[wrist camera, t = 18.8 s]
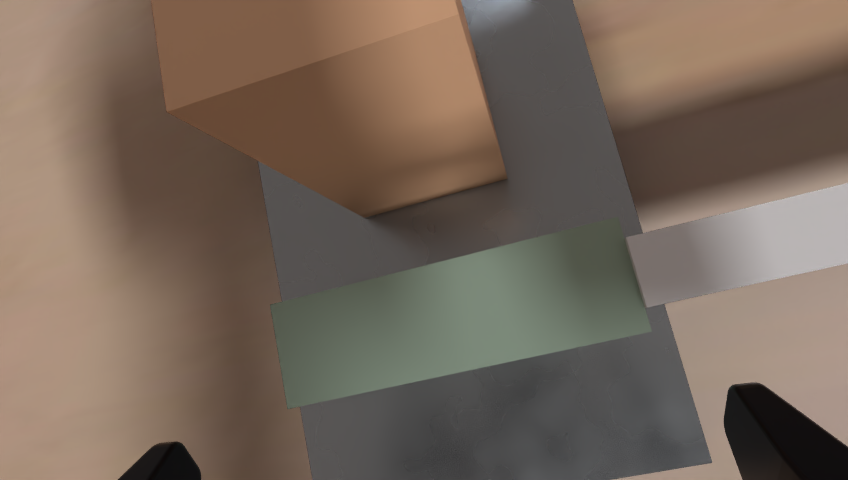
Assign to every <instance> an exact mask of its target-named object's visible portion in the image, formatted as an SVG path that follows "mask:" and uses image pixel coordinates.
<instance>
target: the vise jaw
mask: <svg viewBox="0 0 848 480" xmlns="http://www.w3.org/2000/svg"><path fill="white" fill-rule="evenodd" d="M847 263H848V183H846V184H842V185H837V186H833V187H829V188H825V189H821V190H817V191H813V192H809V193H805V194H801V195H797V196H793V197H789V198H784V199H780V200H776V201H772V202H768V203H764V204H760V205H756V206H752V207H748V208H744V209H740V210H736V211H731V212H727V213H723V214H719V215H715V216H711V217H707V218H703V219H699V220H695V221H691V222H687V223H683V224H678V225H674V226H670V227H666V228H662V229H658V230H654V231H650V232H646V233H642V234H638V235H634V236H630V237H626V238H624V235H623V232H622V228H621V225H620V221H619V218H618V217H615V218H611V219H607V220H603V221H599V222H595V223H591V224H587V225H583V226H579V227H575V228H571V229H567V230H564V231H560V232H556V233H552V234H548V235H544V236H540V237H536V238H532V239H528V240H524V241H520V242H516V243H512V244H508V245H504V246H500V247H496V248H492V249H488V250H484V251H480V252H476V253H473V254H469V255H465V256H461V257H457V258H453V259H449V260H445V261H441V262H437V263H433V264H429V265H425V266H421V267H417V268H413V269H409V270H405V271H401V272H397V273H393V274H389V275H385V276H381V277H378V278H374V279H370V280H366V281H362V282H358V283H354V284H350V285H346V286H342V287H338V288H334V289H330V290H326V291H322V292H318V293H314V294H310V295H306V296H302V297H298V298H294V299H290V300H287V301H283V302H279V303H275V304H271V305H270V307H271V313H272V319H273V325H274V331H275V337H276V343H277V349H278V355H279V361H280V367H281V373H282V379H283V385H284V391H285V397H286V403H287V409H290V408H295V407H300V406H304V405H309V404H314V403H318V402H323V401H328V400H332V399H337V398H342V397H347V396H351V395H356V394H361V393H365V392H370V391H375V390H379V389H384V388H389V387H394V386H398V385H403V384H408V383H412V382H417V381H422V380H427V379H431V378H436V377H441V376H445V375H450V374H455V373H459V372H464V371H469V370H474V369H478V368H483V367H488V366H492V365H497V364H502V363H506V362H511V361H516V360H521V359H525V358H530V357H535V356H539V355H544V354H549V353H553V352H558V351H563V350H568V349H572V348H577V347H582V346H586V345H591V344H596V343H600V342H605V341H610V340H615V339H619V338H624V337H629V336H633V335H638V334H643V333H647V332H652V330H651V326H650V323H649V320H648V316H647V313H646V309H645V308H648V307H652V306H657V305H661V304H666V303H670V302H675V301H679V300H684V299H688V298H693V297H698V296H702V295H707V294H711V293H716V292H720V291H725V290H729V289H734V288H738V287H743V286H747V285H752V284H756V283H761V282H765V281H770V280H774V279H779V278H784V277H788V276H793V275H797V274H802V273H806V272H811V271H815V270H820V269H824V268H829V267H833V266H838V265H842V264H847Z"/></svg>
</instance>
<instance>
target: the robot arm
mask: <svg viewBox="0 0 848 480" xmlns="http://www.w3.org/2000/svg"><path fill="white" fill-rule="evenodd" d="M724 428H725V432H726V436H727V439H728V441H729V444H730V447H731V449H732V452H733V455H734V458H735V460H736V463H737V466H738V468H739V471H740V474H741V477H742V479H743V480H848V447H847V446H846V445H845V444H843V443H842V442H841V441H839V440H838V439H837V438H835V437H834V436H832V435H831V434H830V433H828V432H827V431H826V430H824V429H823V428H822V427H820V426H819V425H818V424H816V423H815V422H813V421H812V420H811V419H809V418H808V417H807V416H805V415H804V414H803V413H801V412H800V411H798V410H797V409H796V408H794V407H793V406H792V405H790V404H789V403H788V402H786V401H785V400H783V399H782V398H781V397H779V396H778V395H777V394H775V393H774V392H773V391H771V390H770V389H768V388H767V387H766V386H764V385H762V384H760V383H744V384H735V385H732V386H731V387H730V388H729V390H728V395H727V401H726V408H725V415H724ZM118 480H201V473H200V469H199V467H198V466H197V464H196V463H195V461H194V460H193V458H192V457H191V455H190V454H189V452H188V451H187V449H186V448H185V446H184V445H183V444H182V443H180V442H166V443H159V444H156V445H154V446H153V447H152V448H150V449H149V450H148V451H147V452H146V453H145V454H144V455H143V456H142V457H141V458H140V459H139V460H138V461H137V462H136V463H135V464H134V465H133V466H132V467H131V468H129V469H128V470H127V471H126V472H125V473H124V474H123V475H122V476H121V477H120V478H119V479H118Z"/></svg>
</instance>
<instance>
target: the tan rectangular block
mask: <svg viewBox="0 0 848 480" xmlns="http://www.w3.org/2000/svg"><path fill="white" fill-rule="evenodd" d="M151 4H152V11H153V18H154V26H155V33H156V40H157V47H158V54H159V62H160V69H161V76H162V83H163V91H164V98H165V105H166V112H168V113H170V114H171V115H173V116H175V117H177V118H179V119H181V120H183V121H184V122H186V123H188V124H190V125H192V126H194V127H196V128H198V129H199V130H201V131H203V132H205V133H207V134H209V135H211V136H212V137H214V138H216V139H218V140H220V141H222V142H224V143H226V144H227V145H229V146H231V147H233V148H235V149H237V150H239V151H240V152H242V153H244V154H246V155H248V156H250V157H252V158H254V159H255V160H257V161H259V162H261V163H263V164H265V165H267V166H268V167H270V168H272V169H274V170H276V171H278V172H280V173H282V174H283V175H285V176H287V177H289V178H291V179H293V180H295V181H296V182H298V183H300V184H302V185H304V186H306V187H308V188H310V189H311V190H313V191H315V192H317V193H319V194H321V195H323V196H324V197H326V198H328V199H330V200H332V201H334V202H336V203H338V204H339V205H341V206H343V207H345V208H347V209H349V210H351V211H352V212H354V213H356V214H358V215H360V216H362V217H364V218H365V217H369V216H373V215H376V214H380V213H384V212H387V211H391V210H395V209H398V208H402V207H406V206H409V205H413V204H417V203H420V202H424V201H428V200H431V199H435V198H439V197H442V196H446V195H450V194H453V193H457V192H461V191H464V190H468V189H472V188H475V187H479V186H483V185H486V184H490V183H494V182H497V181H501V180H505V179H508V178H507V174H506V170H505V166H504V162H503V159H502V155H501V151H500V147H499V143H498V139H497V135H496V131H495V127H494V124H493V120H492V116H491V112H490V108H489V104H488V100H487V96H486V92H485V89H484V85H483V81H482V77H481V73H480V69H479V65H478V61H477V57H476V53H475V50H474V46H473V42H472V38H471V35H470V31H469V27H468V24H467V20H466V17H465V13H464V9H463V6H462V2H461V0H151Z"/></svg>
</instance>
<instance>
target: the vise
mask: <svg viewBox="0 0 848 480" xmlns="http://www.w3.org/2000/svg"><path fill="white" fill-rule="evenodd" d="M461 2H462V6H463V9H464V13H465V17H466V20H467V24H468V27H469V31H470V35H471V38H472V42H473V46H474V50H475V53H476V57H477V61H478V65H479V69H480V73H481V77H482V81H483V85H484V89H485V92H486V96H487V100H488V104H489V108H490V112H491V116H492V120H493V124H494V127H495V131H496V135H497V139H498V143H499V147H500V151H501V155H502V159H503V162H504V166H505V170H506V174H507V178H508V179H505V180H501V181H497V182H494V183H490V184H486V185H483V186H479V187H475V188H472V189H468V190H464V191H461V192H457V193H453V194H450V195H446V196H442V197H439V198H435V199H431V200H428V201H424V202H420V203H417V204H413V205H409V206H406V207H402V208H398V209H395V210H391V211H387V212H384V213H380V214H376V215H373V216H369V217H365V218H364V217H362V216H360V215H358V214H356V213H354V212H352V211H351V210H349V209H347V208H345V207H343V206H341V205H339V204H338V203H336V202H334V201H332V200H330V199H328V198H326V197H324V196H323V195H321V194H319V193H317V192H315V191H313V190H311V189H310V188H308V187H306V186H304V185H302V184H300V183H298V182H296V181H295V180H293V179H291V178H289V177H287V176H285V175H283V174H282V173H280V172H278V171H276V170H274V169H272V168H270V167H268V166H267V165H265V164H263V163H261V162H259V161H258V165H259V171H260V176H261V182H262V188H263V194H264V200H265V206H266V211H267V217H268V223H269V229H270V235H271V241H272V246H273V252H274V258H275V264H276V270H277V275H278V281H279V287H280V293H281V299H282V302H283V301H287V300H290V299H294V298H298V297H302V296H306V295H310V294H314V293H318V292H322V291H326V290H330V289H334V288H338V287H342V286H346V285H350V284H354V283H358V282H362V281H366V280H370V279H374V278H378V277H381V276H385V275H389V274H393V273H397V272H401V271H405V270H409V269H413V268H417V267H421V266H425V265H429V264H433V263H437V262H441V261H445V260H449V259H453V258H457V257H461V256H465V255H469V254H473V253H476V252H480V251H484V250H488V249H492V248H496V247H500V246H504V245H508V244H512V243H516V242H520V241H524V240H528V239H532V238H536V237H540V236H544V235H548V234H552V233H556V232H560V231H564V230H567V229H571V228H575V227H579V226H583V225H587V224H591V223H595V222H599V221H603V220H607V219H611V218H615V217H618V218H619V221H620V225H621V228H622V232H623V235H624V238H626V237H630V236H634V235H638V234H642V233H643V232H642V229H641V226H640V222H639V219H638V216H637V212H636V209H635V206H634V202H633V199H632V196H631V192H630V189H629V186H628V183H627V179H626V176H625V173H624V169H623V166H622V163H621V159H620V156H619V153H618V149H617V146H616V143H615V140H614V136H613V133H612V130H611V126H610V123H609V120H608V116H607V113H606V110H605V106H604V103H603V100H602V97H601V93H600V90H599V87H598V83H597V80H596V77H595V73H594V70H593V67H592V63H591V60H590V57H589V54H588V50H587V47H586V44H585V40H584V37H583V34H582V30H581V27H580V24H579V20H578V17H577V14H576V11H575V7H574V4H573V1H572V0H461ZM645 309H646V313H647V316H648V320H649V323H650V326H651V330H652V332H647V333H643V334H638V335H633V336H629V337H624V338H619V339H615V340H610V341H605V342H600V343H596V344H591V345H586V346H582V347H577V348H572V349H568V350H563V351H558V352H553V353H549V354H544V355H539V356H535V357H530V358H525V359H521V360H516V361H511V362H506V363H502V364H497V365H492V366H488V367H483V368H478V369H474V370H469V371H464V372H459V373H455V374H450V375H445V376H441V377H436V378H431V379H427V380H422V381H417V382H412V383H408V384H403V385H398V386H394V387H389V388H384V389H379V390H375V391H370V392H365V393H361V394H356V395H351V396H347V397H342V398H337V399H332V400H328V401H323V402H318V403H314V404H309V405H304V406H300V409H301V415H302V421H303V427H304V433H305V439H306V444H307V450H308V456H309V462H310V468H311V474H312V479H313V480H612V479H618V478H624V477H630V476H636V475H642V474H648V473H654V472H660V471H666V470H672V469H678V468H684V467H690V466H696V465H702V464H708V463H712V460H711V457H710V454H709V450H708V447H707V444H706V440H705V437H704V434H703V431H702V427H701V424H700V421H699V417H698V414H697V411H696V407H695V404H694V401H693V397H692V394H691V391H690V388H689V384H688V381H687V378H686V374H685V371H684V368H683V364H682V361H681V358H680V354H679V351H678V348H677V345H676V341H675V338H674V335H673V331H672V328H671V325H670V321H669V318H668V315H667V311H666V308H665V305H664V304H661V305H657V306H652V307H648V308H645Z"/></svg>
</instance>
